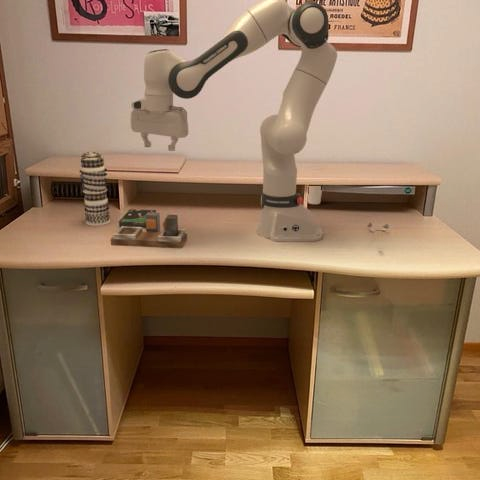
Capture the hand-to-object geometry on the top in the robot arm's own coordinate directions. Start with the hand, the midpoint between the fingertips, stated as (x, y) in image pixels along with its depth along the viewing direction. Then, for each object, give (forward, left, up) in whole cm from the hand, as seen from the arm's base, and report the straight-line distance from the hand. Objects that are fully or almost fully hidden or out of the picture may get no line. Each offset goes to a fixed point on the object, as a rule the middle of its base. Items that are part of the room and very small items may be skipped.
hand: (159, 148), depth 154 cm
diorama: (-73, -2, -29) cm, 79 cm away
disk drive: (+12, -10, -29) cm, 33 cm away
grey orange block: (+3, +2, -29) cm, 29 cm away
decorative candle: (+26, -7, -29) cm, 39 cm away
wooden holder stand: (+2, +10, -28) cm, 30 cm away
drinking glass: (-53, -43, -29) cm, 74 cm away
